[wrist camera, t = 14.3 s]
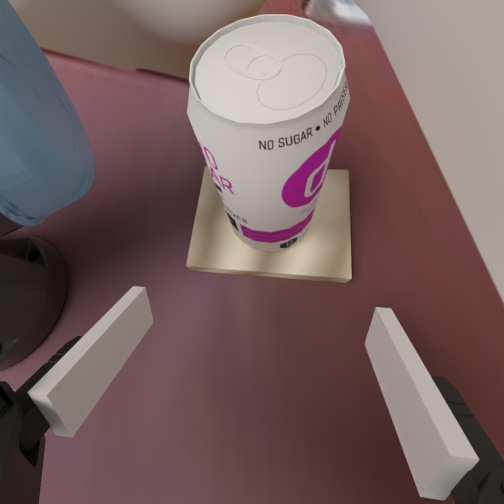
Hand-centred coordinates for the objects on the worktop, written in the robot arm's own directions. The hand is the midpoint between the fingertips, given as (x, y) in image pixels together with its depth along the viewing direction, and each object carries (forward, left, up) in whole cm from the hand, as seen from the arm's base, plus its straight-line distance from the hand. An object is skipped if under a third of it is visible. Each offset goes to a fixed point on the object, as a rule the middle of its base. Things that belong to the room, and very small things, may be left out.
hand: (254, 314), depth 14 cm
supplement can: (0, +10, -8) cm, 13 cm away
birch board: (0, +11, -10) cm, 15 cm away
